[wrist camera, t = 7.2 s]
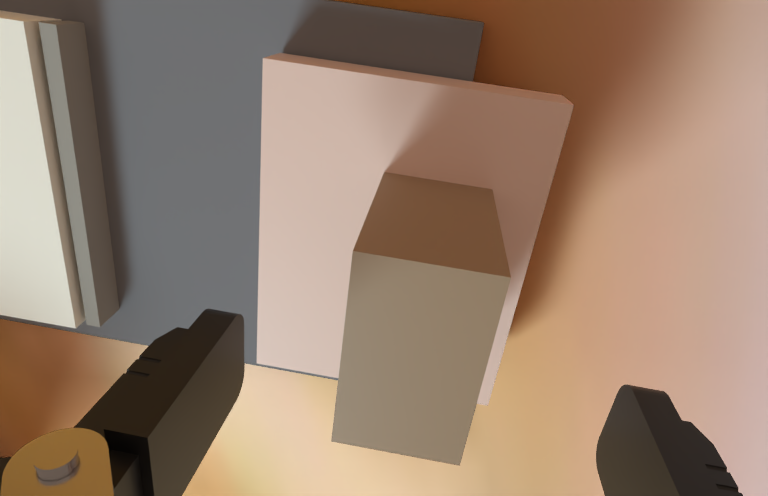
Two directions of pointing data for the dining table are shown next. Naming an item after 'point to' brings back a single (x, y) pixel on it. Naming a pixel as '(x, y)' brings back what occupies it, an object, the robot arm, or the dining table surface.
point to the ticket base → (161, 148)
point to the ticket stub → (398, 239)
